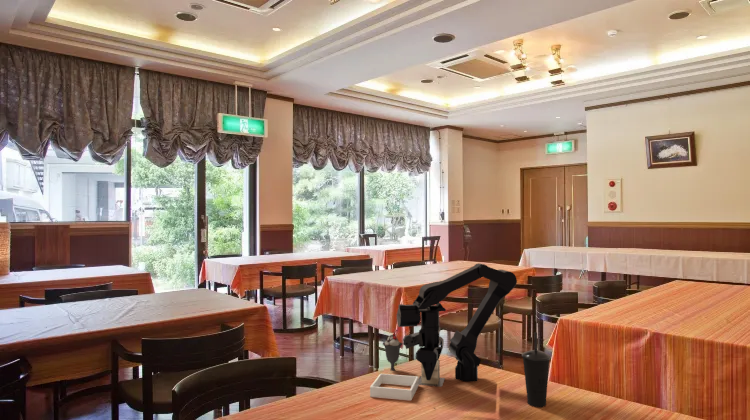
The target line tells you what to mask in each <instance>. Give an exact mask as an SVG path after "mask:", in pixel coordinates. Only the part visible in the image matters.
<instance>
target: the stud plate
mask: <svg viewBox="0 0 750 420" xmlns="http://www.w3.org/2000/svg"><path fill="white" fill-rule="evenodd" d="M445 379H446V378H445V377H440V380H439V382H438V385H437V384H425V383H421V375H420V376H418V383H419V386H429V387H430V386H431V387H440V388H441V387H443V384H444V382H445Z"/></svg>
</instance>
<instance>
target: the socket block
mask: <svg viewBox="0 0 750 420" xmlns="http://www.w3.org/2000/svg"><path fill="white" fill-rule="evenodd" d="M420 365H421V366H420V367H421V372H420V373H421V375H420V376H421V383H425V384H437V385H438V382H439V380H440V378H441V377H440V375H441V374H440V369H441V366H440V365H441V364H440V359H439V360H437V363H436V366H435V368H434V371H433V374H432V377H431V380H427V379H426V375H425V371H424V368H423V365H422V363H421V362H420Z"/></svg>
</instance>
